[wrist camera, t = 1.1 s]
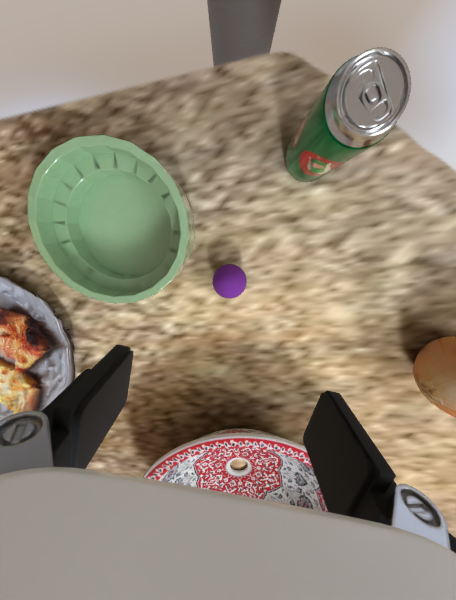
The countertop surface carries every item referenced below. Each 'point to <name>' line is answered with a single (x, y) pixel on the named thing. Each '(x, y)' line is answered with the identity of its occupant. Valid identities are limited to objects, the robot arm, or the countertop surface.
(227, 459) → the ceramic bowl
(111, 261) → the green bowl
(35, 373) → the food plate
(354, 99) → the soda can
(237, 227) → the countertop surface
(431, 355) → the onion
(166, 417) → the countertop surface
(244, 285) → the ball
